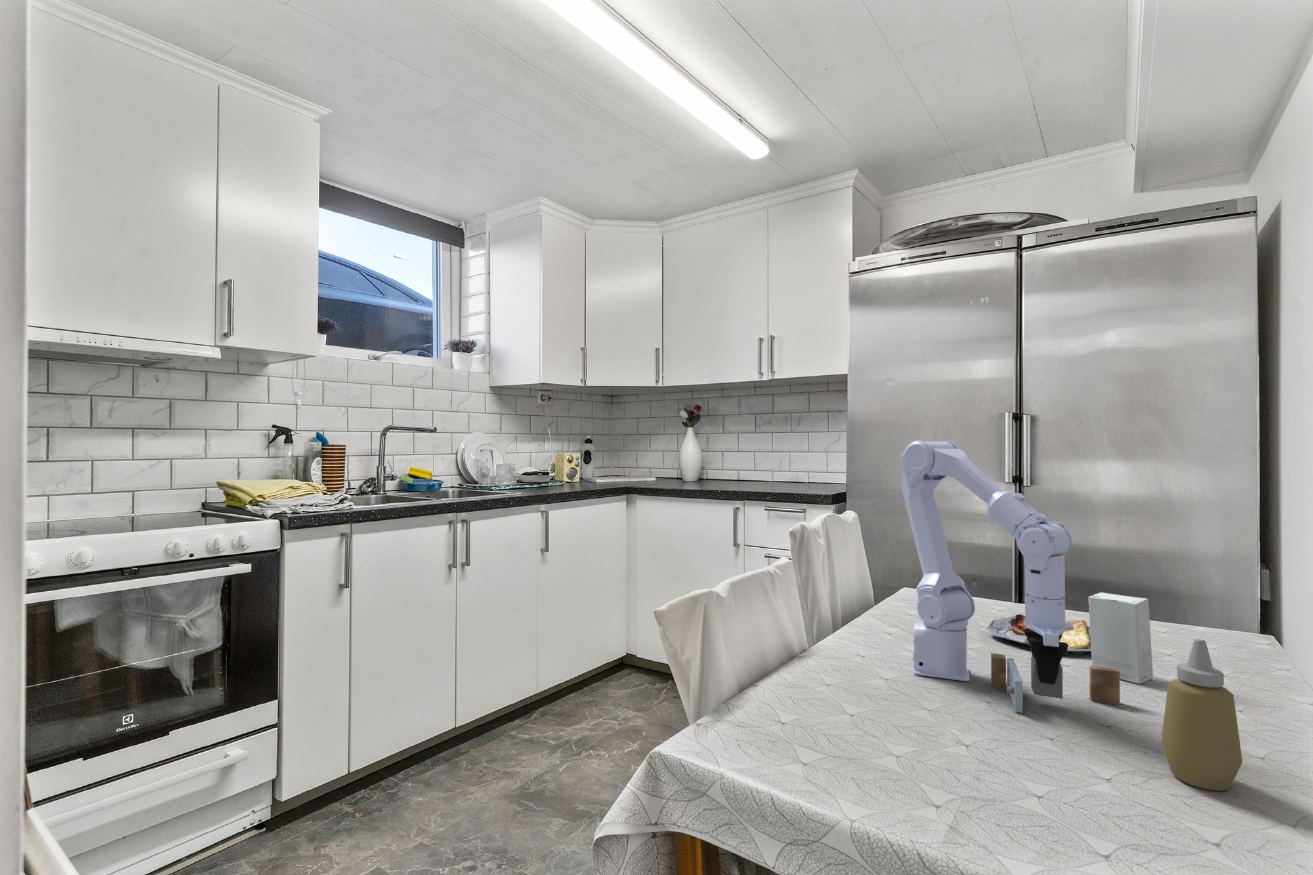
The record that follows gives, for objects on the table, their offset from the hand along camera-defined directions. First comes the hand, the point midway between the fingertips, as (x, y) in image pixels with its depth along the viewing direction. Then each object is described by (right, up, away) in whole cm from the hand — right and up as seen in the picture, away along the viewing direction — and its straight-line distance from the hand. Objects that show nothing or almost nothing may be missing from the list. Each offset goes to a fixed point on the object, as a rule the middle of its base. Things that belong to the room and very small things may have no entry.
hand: (1045, 678), depth 108 cm
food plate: (+23, -6, +37) cm, 44 cm away
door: (-4, -4, +3) cm, 7 cm away
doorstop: (0, -2, 0) cm, 2 cm away
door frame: (+4, -5, +6) cm, 8 cm away
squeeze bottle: (+6, -5, -24) cm, 25 cm away
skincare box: (+23, -5, +15) cm, 27 cm away
